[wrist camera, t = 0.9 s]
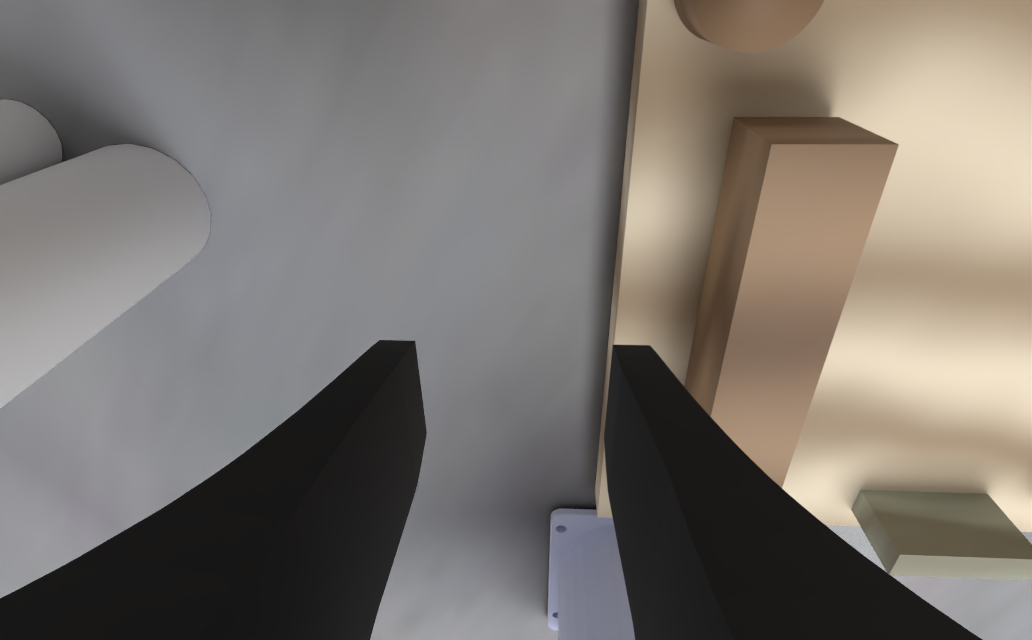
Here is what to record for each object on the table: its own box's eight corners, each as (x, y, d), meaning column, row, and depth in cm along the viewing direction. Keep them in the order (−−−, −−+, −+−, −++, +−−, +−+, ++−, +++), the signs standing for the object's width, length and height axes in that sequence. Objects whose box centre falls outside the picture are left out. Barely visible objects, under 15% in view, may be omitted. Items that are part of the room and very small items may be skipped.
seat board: (1096, 506, 24) (1241, 644, 19) (594, 490, 26) (606, 617, 20) (1594, -131, 13) (2269, -205, 8) (649, -111, 14) (706, -165, 9)
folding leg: (750, 434, 21) (778, 497, 18) (675, 432, 21) (693, 494, 19) (839, 116, 15) (899, 144, 12) (733, 117, 15) (771, 144, 13)
